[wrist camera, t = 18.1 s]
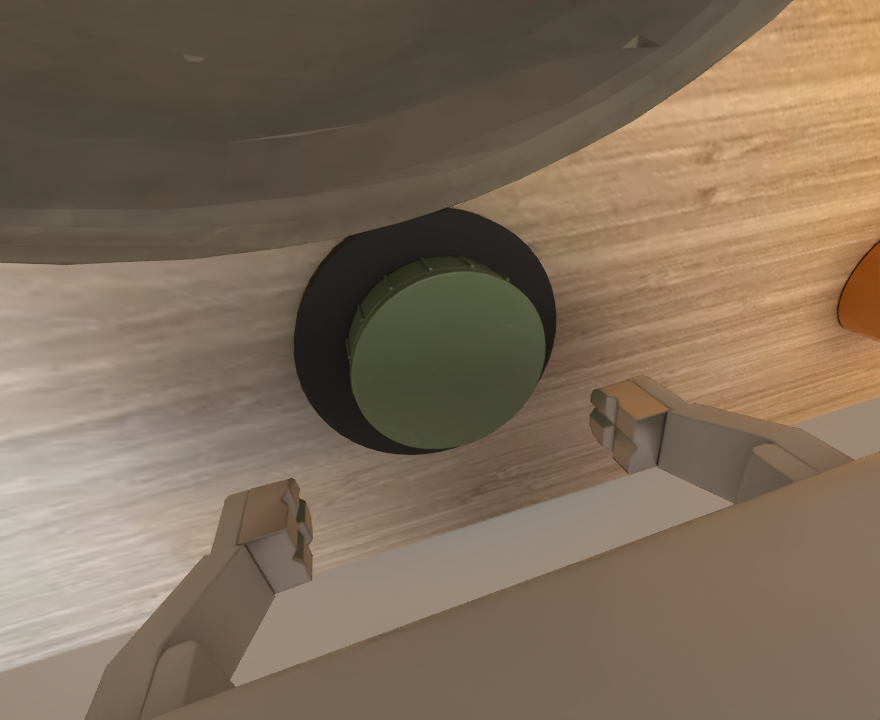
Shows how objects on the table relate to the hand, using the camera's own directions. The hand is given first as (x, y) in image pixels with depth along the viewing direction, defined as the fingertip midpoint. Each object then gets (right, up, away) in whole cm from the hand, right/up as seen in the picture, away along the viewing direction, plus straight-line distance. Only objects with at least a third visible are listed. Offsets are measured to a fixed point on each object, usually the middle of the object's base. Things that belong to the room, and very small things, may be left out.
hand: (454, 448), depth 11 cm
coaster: (-1, +3, +5) cm, 6 cm away
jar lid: (0, +2, +3) cm, 4 cm away
